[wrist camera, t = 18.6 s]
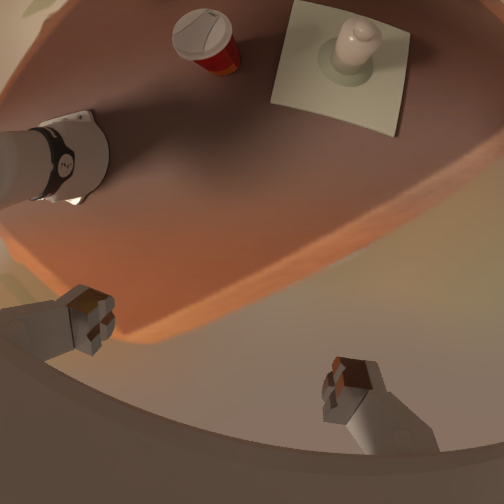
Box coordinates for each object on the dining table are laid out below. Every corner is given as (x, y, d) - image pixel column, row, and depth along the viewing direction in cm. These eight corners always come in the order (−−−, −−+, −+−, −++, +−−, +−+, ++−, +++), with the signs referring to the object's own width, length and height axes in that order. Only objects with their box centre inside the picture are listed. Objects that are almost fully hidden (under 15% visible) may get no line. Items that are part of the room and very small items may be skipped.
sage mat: (270, 103, 42) (270, 102, 41) (294, 2, 35) (294, -1, 34) (392, 137, 41) (394, 137, 40) (408, 35, 34) (410, 33, 33)
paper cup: (219, 34, 39) (194, -3, 26) (256, 55, 40) (243, 20, 26) (191, 69, 41) (156, 43, 28) (227, 91, 42) (202, 68, 29)
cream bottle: (327, 70, 38) (341, 37, 25) (332, 43, 36) (347, 5, 23) (358, 79, 38) (384, 51, 25) (363, 52, 36) (388, 19, 23)
